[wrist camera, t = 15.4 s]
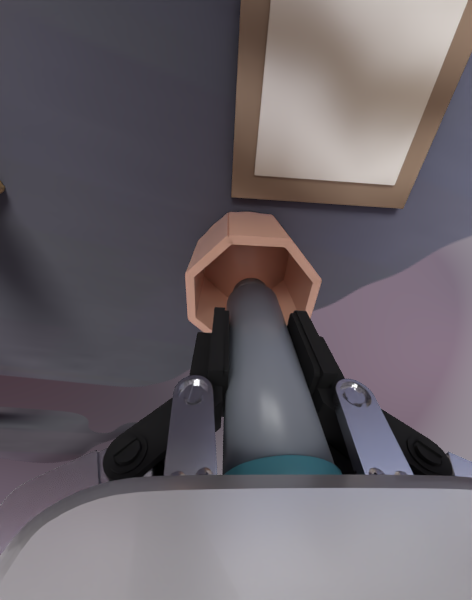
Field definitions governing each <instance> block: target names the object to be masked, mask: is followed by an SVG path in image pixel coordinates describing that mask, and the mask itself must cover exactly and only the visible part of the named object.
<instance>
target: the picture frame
mask: <svg viewBox="0 0 472 600" xmlns="http://www.w3.org/2000/svg"><path fill="white" fill-rule="evenodd" d="M471 52H472V0H241V5H240V26H239V46H238V67H237V87H236V108H235V128H234V149H233V169H232V190H231V197H236V198H251V199H266V200H281V201H295V202H310V203H325V204H340V205H355V206H370V207H385V208H400V209H403V208H404V205H405V203H406V201H407V199H408V196H409V194H410V192H411V189H412V187H413V185H414V183H415V180H416V178H417V176H418V173H419V171H420V169H421V167H422V164H423V162H424V160H425V157H426V155H427V153H428V151H429V148H430V146H431V144H432V141H433V139H434V137H435V135H436V132H437V130H438V128H439V125H440V123H441V121H442V119H443V116H444V114H445V112H446V109H447V107H448V105H449V103H450V100H451V98H452V96H453V93H454V91H455V89H456V87H457V84H458V82H459V80H460V77H461V75H462V73H463V71H464V68H465V66H466V64H467V61H468V59H469V57H470V55H471Z"/></svg>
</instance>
